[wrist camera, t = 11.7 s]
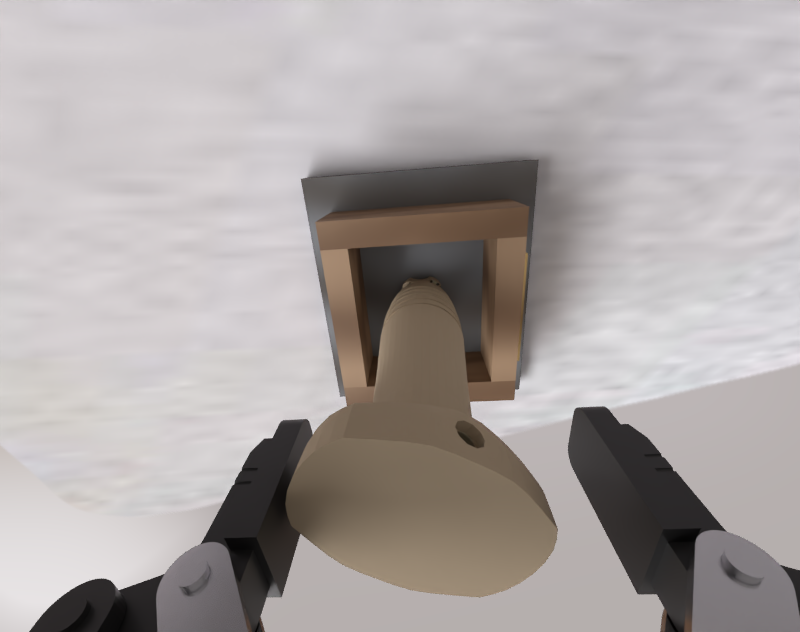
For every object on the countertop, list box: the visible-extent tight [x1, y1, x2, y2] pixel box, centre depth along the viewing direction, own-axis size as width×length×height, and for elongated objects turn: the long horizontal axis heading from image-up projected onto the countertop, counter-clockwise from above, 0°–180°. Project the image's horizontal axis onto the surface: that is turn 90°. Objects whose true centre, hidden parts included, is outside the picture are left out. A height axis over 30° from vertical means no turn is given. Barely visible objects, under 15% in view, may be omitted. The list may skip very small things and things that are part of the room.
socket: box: [301, 160, 538, 406], centre depth 21 cm, size 15×13×4 cm
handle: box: [285, 276, 558, 597], centre depth 15 cm, size 5×6×15 cm
